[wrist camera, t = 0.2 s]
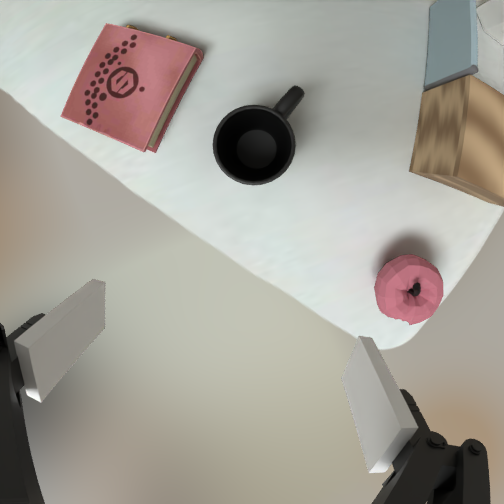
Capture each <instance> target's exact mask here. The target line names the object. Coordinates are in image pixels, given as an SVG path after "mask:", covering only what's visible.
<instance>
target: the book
mask: <svg viewBox="0 0 504 504" xmlns="http://www.w3.org/2000/svg"><path fill="white" fill-rule="evenodd" d="M202 60H203V53H202V51H201V49H198V48H195V47H193V46H189V45H186V44H183V43H180V42H178V41H177V40H176V39H175V38H174V37H172V36H169V35H167V36H166V38H164V37H160V36H157V35H153V34H150V33H146V32H142V31H139V30H138V29H137V28H136V27H134V26H131V25H127V26H126V27H121V26H117V25H112V24H107V23H106V25H105V26H104V28H103V30H102V31H101V33H100V35H99V37H98V38H97V40H96V42H95V44H94V46H93V47H92V49H91V51H90V53H89V55H88V57H87V59H86V61H85V63H84V65H83V67H82V69H81V71H80V73H79V75H78V77H77V79H76V82H75V84H74V86H73V88H72V90H71V93H70V95H69V97H68V100H67V102H66V104H65V107H64V109H63V112H62V114H61V117H62V118H65V119H67V120H70V121H72V122H75V123H77V124H80V125H82V126H84V127H87V128H89V129H91V130H94V131H96V132H99V133H101V134H103V135H106V136H108V137H110V138H113V139H115V140H117V141H119V142H122V143H124V144H126V145H129V146H131V147H133V148H135V149H138V150H140V151H142V152H146V150H147V149H148V150H150V151H152V152H154V153H156V151H157V149H158V147H159V144H160V142H161V140H162V138H163V136H164V134H165V131H166V129H167V127H168V125H169V123H170V121H171V119H172V117H173V115H174V113H175V111H176V109H177V107H178V105H179V103H180V101H181V99H182V97H183V95H184V93H185V91H186V89H187V87H188V86H189V84H190V82H191V80H192V78H193V76H194V74H195V73H196V71H197V69H198V67H199V65H200V64H201V62H202Z"/></svg>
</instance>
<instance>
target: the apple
mask: <svg viewBox="0 0 504 504" xmlns="http://www.w3.org/2000/svg"><path fill="white" fill-rule="evenodd" d="M374 289H375V295H376V300H377V305H378V307H379V309H380V311H381V312H382V313H384V314H385V315H386V316H387V317H391V318H394V319H401V320H402V321H407V322H408V323H409V325H412V324H416V323H419V322H422V321H424V320H426V319H427V318H429V317H431V316H432V315H433V313H434V312H435V311H436V309H437V308H438V306H439V304H440V302H441V299H442V297H443V280H442V277H441V275H440V273H439V271H438V269H437V268H436V267H435V266H434V265H432V264H431V263H429V262H428V261H427V260H425V259H423V258H421V257H418V256H416V255H412V254H409V255H401V256H399V257H397V258H395V259H393V260H391V261H389V262H388V263H386V264H385V265H384V267H383V268H382V269H381V270H380V271H379V272H378V275H377V279H376V283H375V286H374Z"/></svg>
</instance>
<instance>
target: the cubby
mask: <svg viewBox="0 0 504 504" xmlns="http://www.w3.org/2000/svg"><path fill="white" fill-rule="evenodd" d="M409 172H412V173H415V174H418V175H420V176H423V177H426V178H429V179H431V180H434V181H437V182H439V183H442V184H445V185H447V186H450V187H452V188H455V189H457V190H460V191H462V192H465V193H467V194H470V195H472V196H474V197H477V198H479V199H481V200H484V201H486V202H488V203H492V204H496V205H499V206H503V207H504V95H503V94H501V93H500V92H498V91H497V90H495V89H494V88H492V87H490V86H489V85H487V84H486V83H484V82H482V81H481V80H479V79H477V78H475V77H474V76H472V75H468V76H465V77H462V78H460V79H457V80H454V81H452V82H449V83H446V84H444V85H441V86H438V87H436V88H433V89H431V90H428V91H426V92H423V93H422V99H421V107H420V114H419V120H418V126H417V132H416V138H415V144H414V149H413V154H412V159H411V164H410V169H409Z"/></svg>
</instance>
